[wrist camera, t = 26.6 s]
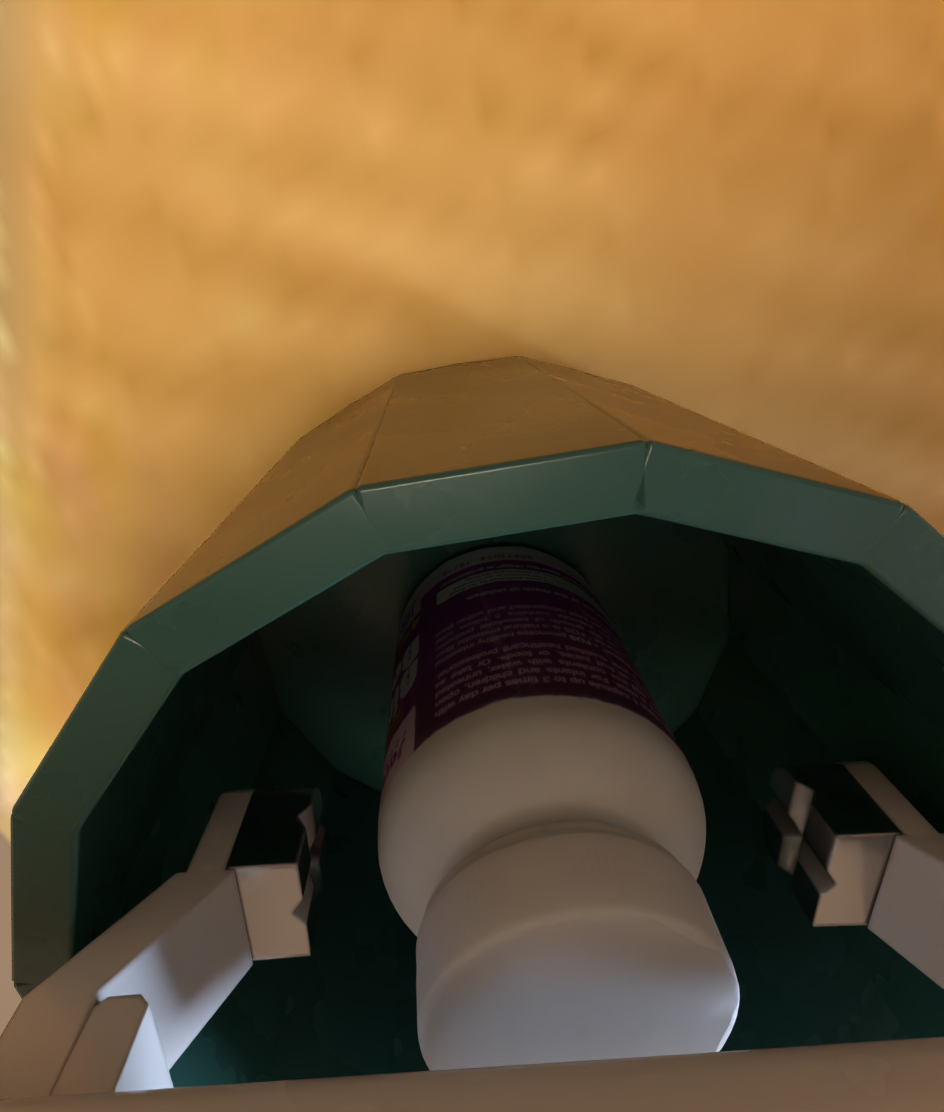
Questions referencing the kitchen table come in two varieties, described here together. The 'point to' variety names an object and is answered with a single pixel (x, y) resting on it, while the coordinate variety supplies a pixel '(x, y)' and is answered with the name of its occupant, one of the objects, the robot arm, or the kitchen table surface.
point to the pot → (367, 672)
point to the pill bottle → (542, 830)
